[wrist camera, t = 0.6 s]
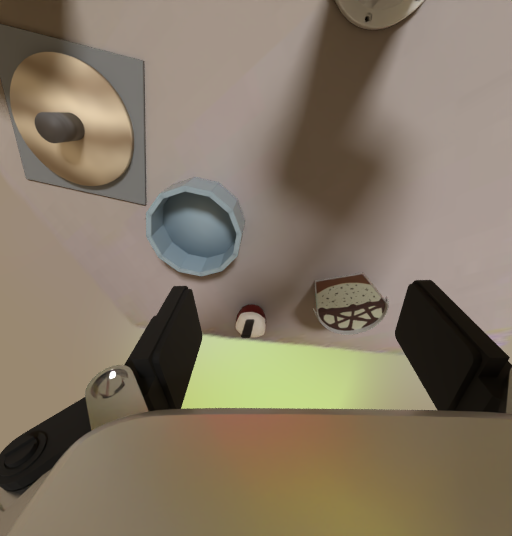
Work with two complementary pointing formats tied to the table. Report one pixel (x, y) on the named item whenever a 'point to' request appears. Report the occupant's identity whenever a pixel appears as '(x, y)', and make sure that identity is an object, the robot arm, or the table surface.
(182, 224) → the bowl
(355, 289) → the food container
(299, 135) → the table surface
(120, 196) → the mat
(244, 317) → the cocoa
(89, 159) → the lid
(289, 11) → the table surface
